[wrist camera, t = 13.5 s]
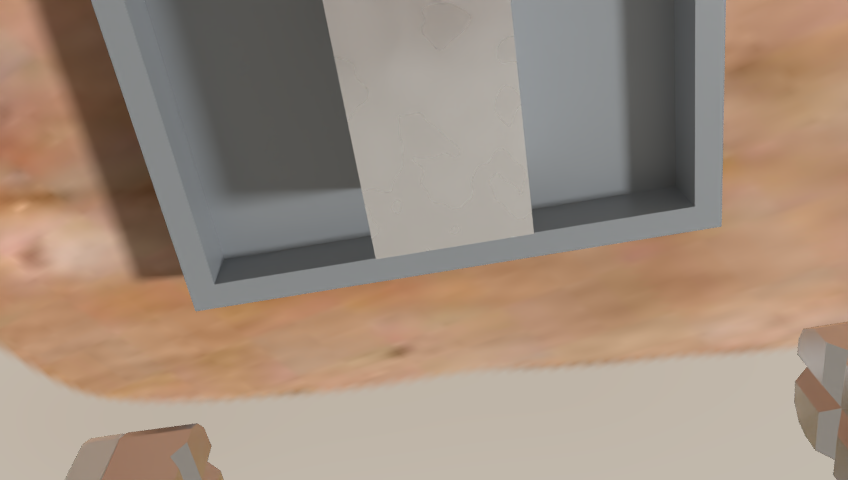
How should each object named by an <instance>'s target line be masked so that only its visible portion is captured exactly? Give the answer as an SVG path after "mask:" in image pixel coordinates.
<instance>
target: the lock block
mask: <svg viewBox="0 0 848 480" xmlns="http://www.w3.org/2000/svg"><path fill="white" fill-rule="evenodd" d="M323 5H324V10H325V15H326V20H327V25H328V30H329V34H330V39H331V44H332V49H333V54H334V59H335V63H336V68H337V73H338V78H339V83H340V88H341V93H342V97H343V102H344V107H345V112H346V117H347V122H348V127H349V131H350V136H351V141H352V146H353V151H354V156H355V160H356V165H357V170H358V175H359V180H360V185H361V190H362V194H363V199H364V204H365V209H366V214H367V219H368V223H369V228H370V233H371V238H372V243H373V248H374V253H375V257H376V259H382V258H388V257H394V256H400V255H406V254H412V253H419V252H425V251H431V250H437V249H443V248H450V247H456V246H462V245H468V244H474V243H481V242H487V241H493V240H499V239H505V238H511V237H518V236H524V235H530V234H534V228H533V218H532V209H531V199H530V189H529V179H528V169H527V159H526V149H525V139H524V129H523V119H522V109H521V99H520V89H519V80H518V70H517V60H516V50H515V40H514V30H513V20H512V10H511V0H323Z"/></svg>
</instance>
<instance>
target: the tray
mask: <svg viewBox="0 0 848 480" xmlns="http://www.w3.org/2000/svg"><path fill="white" fill-rule="evenodd" d="M91 2H92V5H93V8H94V11H95V14H96V17H97V20H98V23H99V26H100V29H101V32H102V35H103V38H104V41H105V43H106V46H107V49H108V52H109V55H110V58H111V61H112V64H113V67H114V70H115V73H116V76H117V79H118V82H119V85H120V88H121V91H122V94H123V97H124V100H125V103H126V106H127V109H128V112H129V115H130V118H131V121H132V124H133V127H134V130H135V133H136V136H137V139H138V142H139V145H140V147H141V150H142V153H143V156H144V159H145V162H146V165H147V168H148V171H149V174H150V177H151V180H152V183H153V186H154V189H155V192H156V195H157V198H158V201H159V204H160V207H161V210H162V213H163V216H164V219H165V222H166V225H167V228H168V231H169V234H170V237H171V240H172V243H173V246H174V249H175V252H176V254H177V257H178V260H179V263H180V266H181V269H182V272H183V275H184V278H185V281H186V284H187V287H188V290H189V293H190V296H191V299H192V302H193V305H194V308H195V311H201V310H207V309H213V308H219V307H226V306H232V305H238V304H244V303H250V302H257V301H263V300H269V299H275V298H281V297H288V296H294V295H300V294H306V293H312V292H319V291H325V290H331V289H337V288H343V287H350V286H356V285H362V284H368V283H374V282H381V281H387V280H393V279H399V278H405V277H412V276H418V275H424V274H430V273H436V272H443V271H449V270H455V269H461V268H467V267H473V266H480V265H486V264H492V263H498V262H504V261H511V260H517V259H523V258H529V257H535V256H542V255H548V254H554V253H560V252H566V251H573V250H579V249H585V248H591V247H597V246H604V245H610V244H616V243H622V242H628V241H635V240H641V239H647V238H653V237H659V236H666V235H672V234H678V233H684V232H690V231H696V230H703V229H709V228H715V227H721V223H722V171H723V120H724V69H725V17H726V0H511V10H512V20H513V30H514V40H515V50H516V60H517V70H518V80H519V89H520V99H521V109H522V119H523V129H524V139H525V149H526V159H527V169H528V179H529V189H530V199H531V209H532V218H533V228H534V234H530V235H524V236H518V237H511V238H505V239H499V240H493V241H487V242H481V243H474V244H468V245H462V246H456V247H450V248H443V249H437V250H431V251H425V252H419V253H412V254H406V255H400V256H394V257H388V258H382V259H376V257H375V253H374V248H373V243H372V238H371V233H370V228H369V223H368V219H367V214H366V209H365V204H364V199H363V194H362V190H361V185H360V180H359V175H358V170H357V165H356V160H355V156H354V151H353V146H352V141H351V136H350V131H349V127H348V122H347V117H346V112H345V107H344V102H343V97H342V93H341V88H340V83H339V78H338V73H337V68H336V63H335V59H334V54H333V49H332V44H331V39H330V34H329V30H328V25H327V20H326V15H325V10H324V5H323V0H91Z"/></svg>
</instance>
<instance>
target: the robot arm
mask: <svg viewBox="0 0 848 480" xmlns="http://www.w3.org/2000/svg"><path fill="white" fill-rule="evenodd" d="M797 355H798V356H799V357H800V358H801V359H802V361H803V362H804V363H805V365H806V366H807V368H806V369H805V370H804V371H803V372H802V374H801V375H800V376H799V377H798V379H797V380H796V381H795V398H794V402H795V407H796V411H797V416H798V420H799V423H800V425H801V427H802V429H803V432H804V434H805V436H806V438H807V439H808V440H809V442H810V443H811V445H812V446H813V448H814V449H815V450H816V451H818V452H820V453H822V454H824V455H826V456H828V457H830V458H832V459H834V460H835V462H834V472H833V475H834V477H835V478H836V479H837V480H848V322H843V323H836V324H830V325H824V326H818V327H812V328H805V329H803V331H802V333H801V335H800V337H799V342H798V353H797ZM210 449H211V444H210V442H209V439H208V436H207V434H206V432H205V429H204V427H202V426H201V425H199V424H189V425H182V426H174V427H167V428H159V429H152V430H144V431H137V432H129V433H126V434H117V435H110V436H104V437H97V438H91V439H90V440H88V441H87V442H85V443H84V444H83V445H82V446H81V448H80V450H79V452H78V454H77V456H76V458H75V460H74V462H73V464H72V467H71V468H70V470H69V472H68V474H67V476H66V478H65V480H223V476H222V474H221V471H220V470H219V469H217V468H216V467H214V466H213V465H211V464H210V463H208V462H207V460H208V457H209V453H210Z"/></svg>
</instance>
